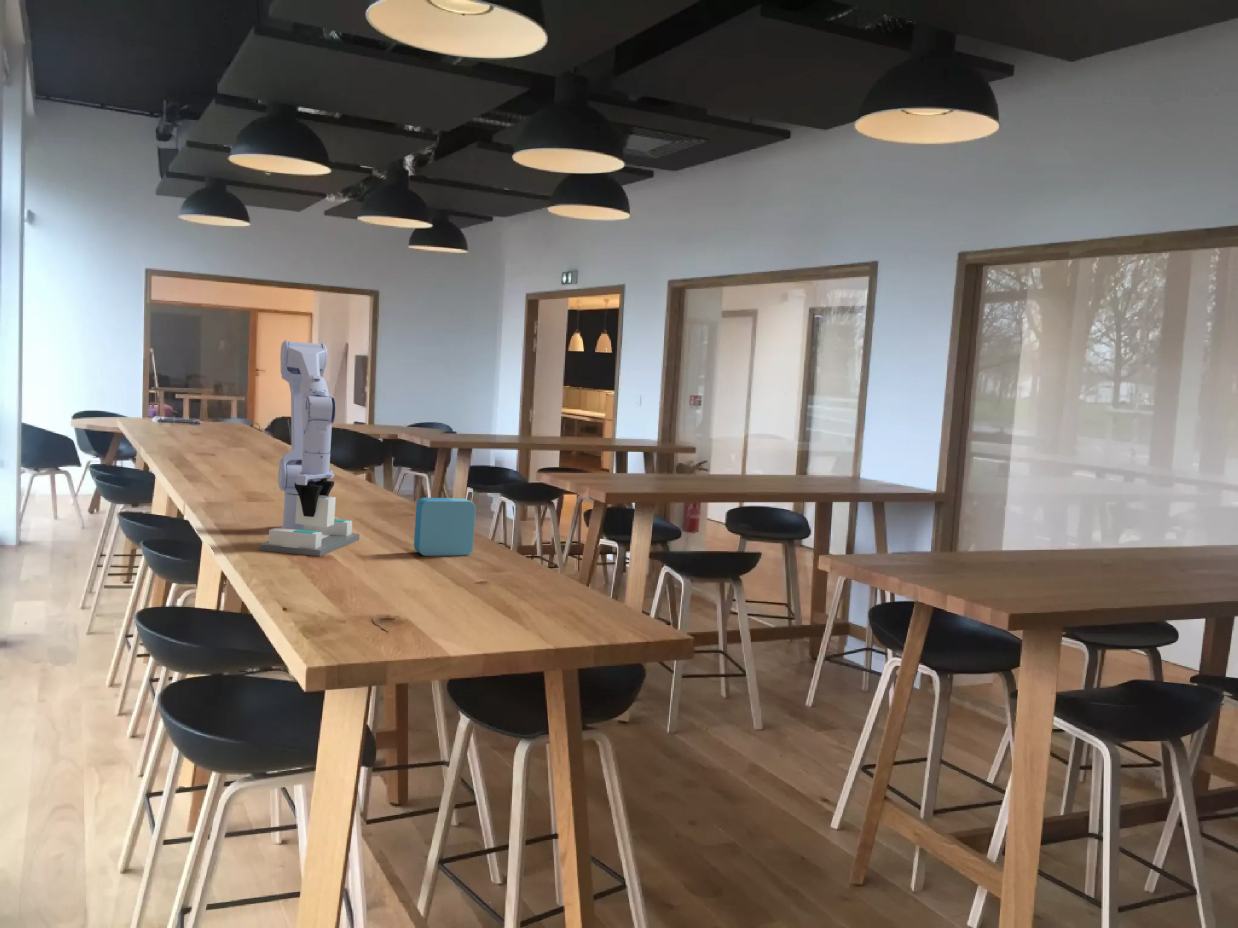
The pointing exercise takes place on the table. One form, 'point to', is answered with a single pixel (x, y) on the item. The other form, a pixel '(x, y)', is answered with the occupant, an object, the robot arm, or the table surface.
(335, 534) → the rail board
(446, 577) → the table surface
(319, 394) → the robot arm
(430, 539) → the data package
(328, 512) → the block
